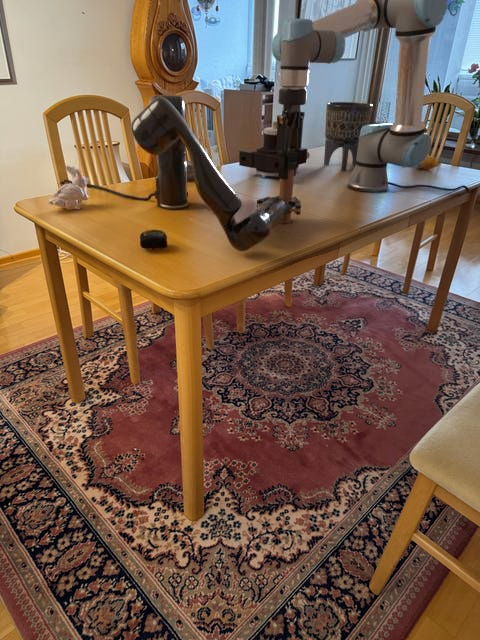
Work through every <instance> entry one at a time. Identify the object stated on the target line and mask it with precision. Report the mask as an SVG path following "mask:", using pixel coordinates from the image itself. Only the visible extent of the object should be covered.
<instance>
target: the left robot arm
mask: <svg viewBox="0 0 480 640" xmlns="http://www.w3.org/2000/svg"><path fill="white" fill-rule="evenodd" d="M130 132H131V134H132V137H133V139H134V141H135V142H136V144H137V145H138V147H139V148H141V149H142V150H143V151H144V152H146V153H147V154H149V155H152V156H156V165H157V166H156V168H157V175H156V176H155V178H154V179H155V190H154V192H151V193H150V194H148V196H147V197H140V196H134V195H130V194H125V193H122V192H119V191H115V190H114V189H110V188H107V187H103V186H100V185H96V184H90V183H87V184H86V187H88V188H95V189H97V190H102V191H104V192H105V191H106V192H108V193H111V194H113V195H116V196H119V197H122V198H128V199H131V200H135V201H144V202H145V201H150V200H151V199H152V197H154V199H155V200H156V204H157V205H156V206H157V207H160V208H162V209H166V210H179V209H180V210H181V209H185V208H187V207H188V206H189V199H188V197H189V192H188V181H187V172H186V163H187V153H188V155H189V158H190V161H191V163H192V168H193V174H194V180H195V181H194V185H195V188H196V191H197V193H198V195H199V197H200V199H201V201H202V202H203V203H204V205H206V207H208V209H209V210H210V211H211V212H212V213H213V215H214V216H215V217H216V219H217V220H218V222H219V224H220V226H221V228H222V229H223V231H224V233H225V236H226V238H227V240H228V242H229V245H231V247H232V248H233V249H235V250H236V251H238V252H243V253H244V252H247V251H249V250H251V249H252V248H253V247H255V246H257V245H259V244H260V243H262V242H263V241H264V240H266V239H267V238H268V237H270V235H271V234H272V231H273V230H274V229H276V228H277V227H278V226H279V225H281V224H282V223H281V222H282V221H283V220H284V219H285V218H286V216H287V214H290V213H291V214H292V213H294V214H295V215H297V216H299V215H300V216H301V213H302V202H301V200H299V199H298V197H297V196H292V199H291V200H288V199H287V200H284V201H283V200H282V199H280V198H279V195H276V196H272V197H271V196H265V197H263V198H260V199H256V208H255V209H254V210H252V212H250V213H249V214H248V215H247V216H245V217H244V218H242V219H241V220H240V221H238V222H237V221H236V219H235V216H236V214H238V212H239V211H240V209H241V208H242V206H243V203H242V200H241V199H240V197H239V196H238V195H237V193H236V192H235V191H234V189H233V188H232V187H231V185H229V184H228V182H227V181H226V179H225V178H224V177H223V176H222V174H221V173H220V172H219V171H218V169H217V168H216V166H215V165H214V163H213V162H212V160H211V158H210V156H209V155H208V153H207V151H206V150H205V149H204V147H203V145H202V144H201V142H200V140H199V139H198V138H197V137H196V135H195V134H194V132H193V131H192V129H191V128H190V126H189V125H188V123H187V121H186V105H185V101H184V98H183V96H182V95H180V94H154V95H152V96H151V97H150V98H149V101H148V104H147V105H146V107H145V108H144V109H143V110H141V112H139V113H138V114H137V115H136V116H135V117H134V118H133V120H132V122H131V124H130ZM186 151H187V153H186ZM63 180H64V182H63ZM63 180H61V181H60V184H61V185H64V184H66V183H67V184H71V183H72V181H73V180H71V179H63Z"/></svg>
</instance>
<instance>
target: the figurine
mask: <svg viewBox="0 0 480 640" xmlns="http://www.w3.org/2000/svg"><path fill="white" fill-rule="evenodd" d="M65 170H66V171H67V172H68V173H69V174H70V175H71V179H72V180H71V181H72V183H64V184H62V186H61V187H59V188H58V189H57V190H56V192H55V193H54V194H53V195H52V198H50V199H49V200H47V203H48V205H51V206H53V205H55V206H56V207H58V208H61V209H63V208H64V209H66V210H80V207H78V205H82V204H84V202H83V201H88V200H89V199H90V198H89V195H88V193H87V192H88V189H87V188H86V187H87V186H86V184H88V182H89V181H90V180H89V179H90V178H89V177H86V176H84V175H82V172H81V170H80V169H79V168H76V167H75V166H74V165H73V166H70V165H66V166H65Z"/></svg>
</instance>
